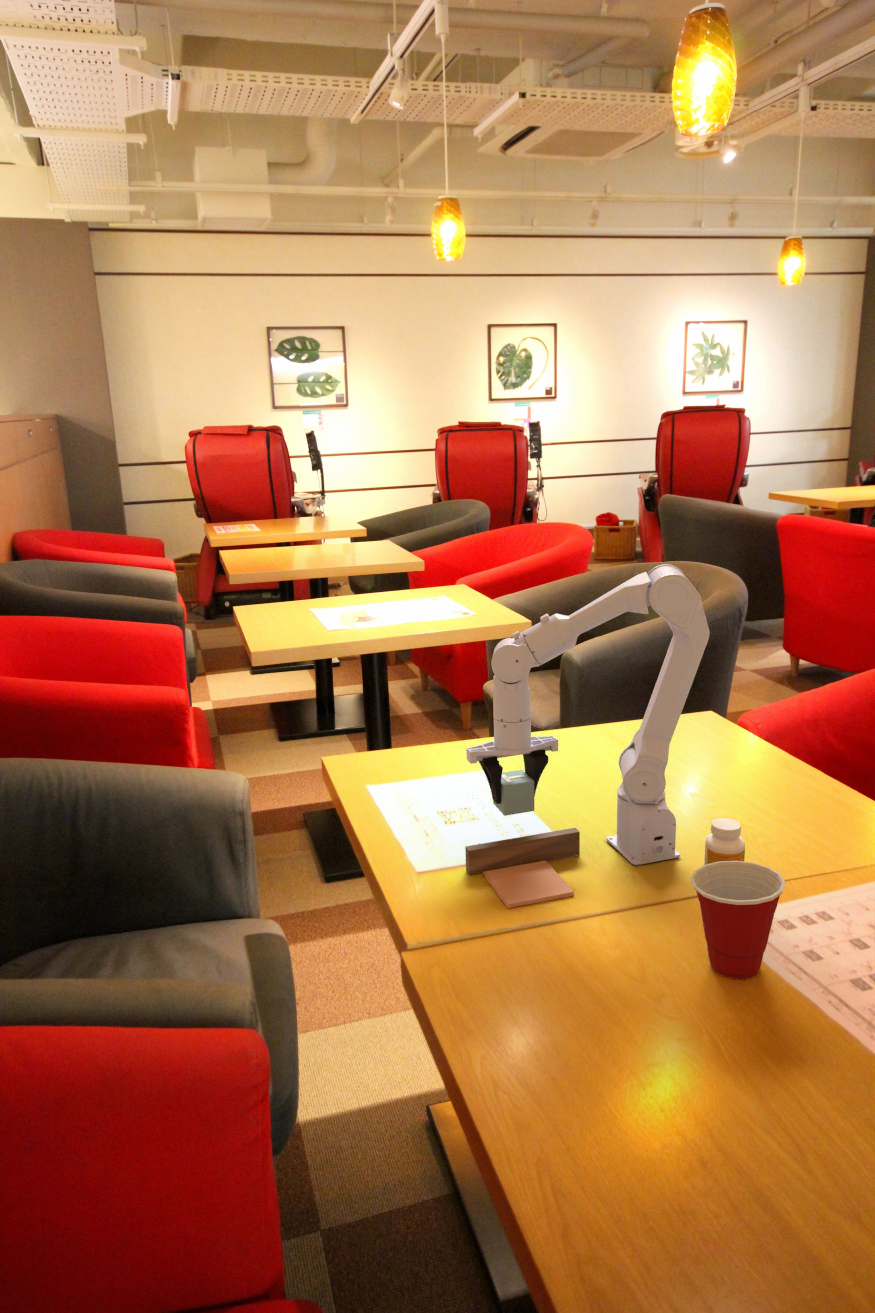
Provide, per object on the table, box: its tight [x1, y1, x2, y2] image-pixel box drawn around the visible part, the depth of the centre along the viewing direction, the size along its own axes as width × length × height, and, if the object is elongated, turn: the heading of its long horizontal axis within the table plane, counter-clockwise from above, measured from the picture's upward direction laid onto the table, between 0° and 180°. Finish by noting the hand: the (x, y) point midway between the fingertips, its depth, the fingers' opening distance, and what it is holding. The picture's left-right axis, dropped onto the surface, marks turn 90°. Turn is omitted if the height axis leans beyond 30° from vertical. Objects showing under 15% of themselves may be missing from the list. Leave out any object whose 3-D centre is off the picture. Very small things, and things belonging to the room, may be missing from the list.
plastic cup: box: [689, 860, 787, 980], centre depth 110 cm, size 11×11×12 cm
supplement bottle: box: [703, 817, 746, 865], centre depth 128 cm, size 5×5×10 cm
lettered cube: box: [492, 769, 535, 817], centre depth 143 cm, size 5×5×5 cm
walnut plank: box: [465, 827, 581, 876], centre depth 138 cm, size 2×18×4 cm, turn 107°
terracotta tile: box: [483, 860, 575, 909], centre depth 132 cm, size 10×10×1 cm
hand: (513, 798), depth 143 cm, fingers closed on lettered cube, 5 cm apart
